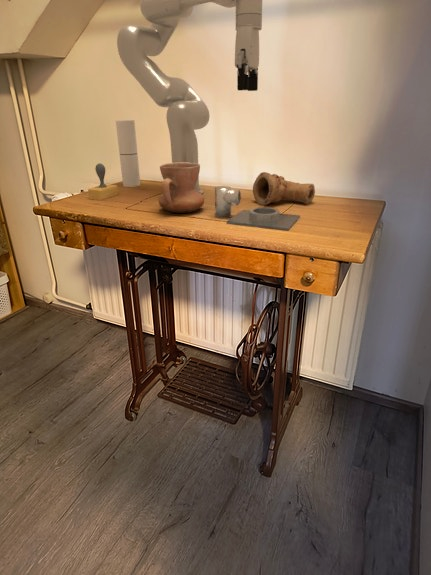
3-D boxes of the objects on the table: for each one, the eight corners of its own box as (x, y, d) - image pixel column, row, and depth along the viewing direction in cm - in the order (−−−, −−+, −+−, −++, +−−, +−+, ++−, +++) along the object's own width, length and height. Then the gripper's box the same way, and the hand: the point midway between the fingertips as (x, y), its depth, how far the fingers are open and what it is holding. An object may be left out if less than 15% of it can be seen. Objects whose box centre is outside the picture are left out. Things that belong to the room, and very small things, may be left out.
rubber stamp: (101, 200, 138) (96, 165, 133) (88, 199, 141) (83, 164, 136) (119, 195, 147) (115, 161, 141) (106, 193, 149) (102, 161, 144)
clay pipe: (263, 207, 142) (244, 202, 130) (267, 177, 141) (249, 169, 128) (312, 212, 133) (297, 208, 120) (318, 180, 131) (303, 172, 118)
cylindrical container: (120, 186, 160) (112, 120, 149) (126, 183, 166) (119, 119, 156) (136, 187, 159) (130, 120, 148) (142, 183, 165) (136, 119, 154)
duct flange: (226, 223, 111) (226, 213, 110) (243, 211, 123) (243, 202, 121) (288, 230, 105) (289, 220, 103) (300, 217, 116) (300, 208, 115)
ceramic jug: (178, 202, 135) (175, 159, 129) (214, 206, 129) (214, 162, 122) (145, 214, 121) (141, 167, 115) (184, 220, 114) (182, 170, 108)
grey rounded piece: (212, 217, 117) (212, 188, 114) (218, 213, 121) (218, 185, 118) (234, 219, 115) (235, 190, 111) (240, 215, 119) (241, 187, 115)
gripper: (245, 29, 120) (244, 91, 128) (225, 20, 106) (226, 90, 113) (269, 27, 118) (267, 90, 125) (252, 17, 103) (251, 89, 110)
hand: (247, 90), depth 119 cm, fingers open, 9 cm apart
